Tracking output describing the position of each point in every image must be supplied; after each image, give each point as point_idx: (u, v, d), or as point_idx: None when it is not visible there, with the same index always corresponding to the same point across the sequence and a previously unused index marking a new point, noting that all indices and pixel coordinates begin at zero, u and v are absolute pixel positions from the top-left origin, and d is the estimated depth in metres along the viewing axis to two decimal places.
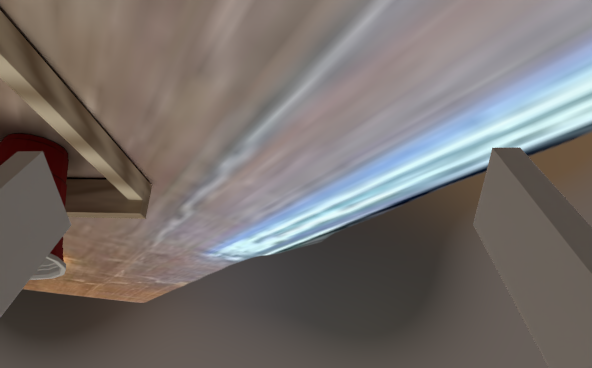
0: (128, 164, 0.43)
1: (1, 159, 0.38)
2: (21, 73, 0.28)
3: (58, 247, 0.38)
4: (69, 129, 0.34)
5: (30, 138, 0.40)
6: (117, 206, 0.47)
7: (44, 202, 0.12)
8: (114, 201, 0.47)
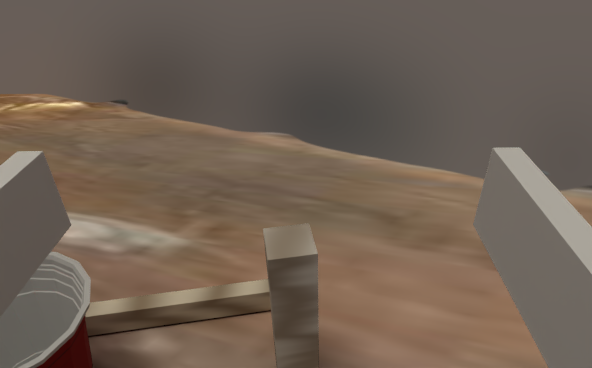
0: None
1: None
2: None
3: None
4: None
5: None
6: None
7: (44, 202, 0.12)
8: None
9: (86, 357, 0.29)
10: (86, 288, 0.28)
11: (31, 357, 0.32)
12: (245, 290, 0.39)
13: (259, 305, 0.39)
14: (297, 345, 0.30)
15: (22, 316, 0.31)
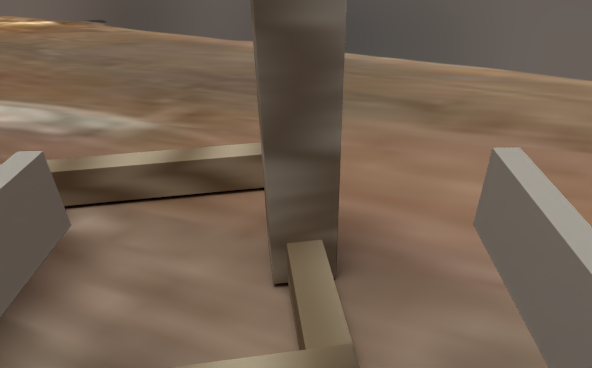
0: None
1: None
2: None
3: None
4: None
5: None
6: None
7: (44, 202, 0.12)
8: None
9: None
10: None
11: None
12: (225, 153, 0.26)
13: (246, 178, 0.27)
14: (304, 177, 0.17)
15: None
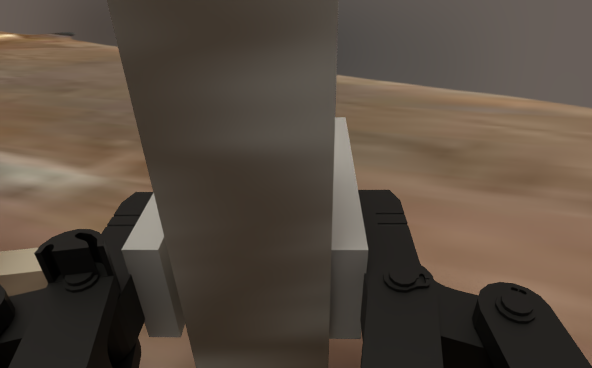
0: None
1: None
2: None
3: None
4: None
5: None
6: None
7: None
8: None
9: None
10: None
11: None
12: None
13: None
14: None
15: None
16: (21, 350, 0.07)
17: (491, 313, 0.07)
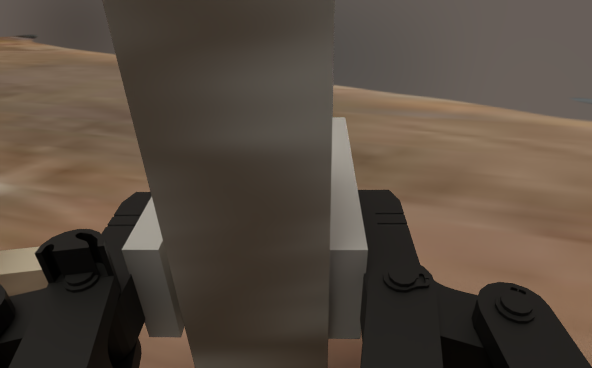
0: None
1: None
2: None
3: None
4: None
5: None
6: None
7: None
8: None
9: None
10: None
11: None
12: None
13: None
14: None
15: None
16: (21, 349, 0.07)
17: (490, 313, 0.07)
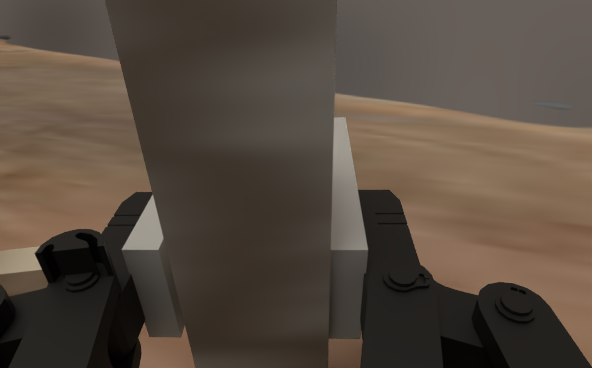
0: None
1: None
2: None
3: None
4: None
5: None
6: None
7: None
8: None
9: None
10: None
11: None
12: None
13: None
14: None
15: None
16: (21, 350, 0.07)
17: (490, 313, 0.07)
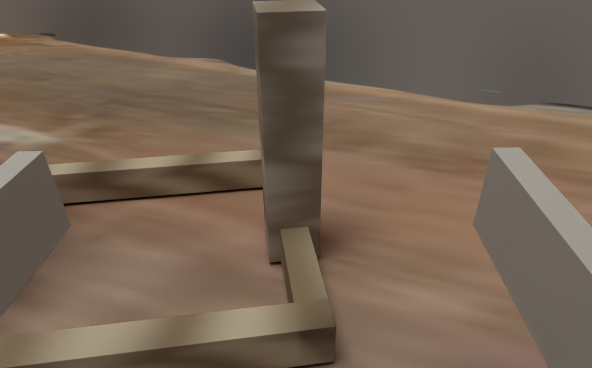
0: None
1: None
2: (224, 342, 0.18)
3: None
4: (57, 353, 0.17)
5: None
6: None
7: (44, 202, 0.12)
8: None
9: None
10: None
11: None
12: (230, 158, 0.31)
13: (246, 179, 0.32)
14: (294, 177, 0.22)
15: None
16: None
17: None
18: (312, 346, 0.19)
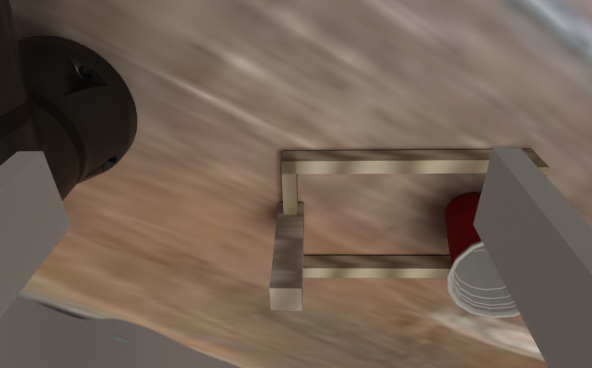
0: (474, 151, 0.47)
1: (447, 228, 0.49)
2: (325, 160, 0.46)
3: None
4: (387, 163, 0.46)
5: (449, 205, 0.51)
6: None
7: (44, 202, 0.12)
8: None
9: (450, 242, 0.47)
10: (450, 285, 0.43)
11: None
12: (319, 271, 0.54)
13: (311, 259, 0.55)
14: (289, 232, 0.47)
15: (492, 274, 0.48)
16: None
17: None
18: (290, 156, 0.47)
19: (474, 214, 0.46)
